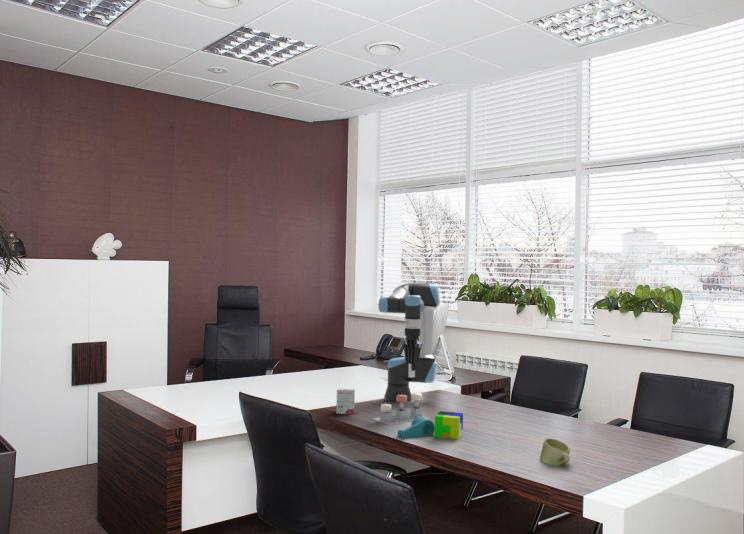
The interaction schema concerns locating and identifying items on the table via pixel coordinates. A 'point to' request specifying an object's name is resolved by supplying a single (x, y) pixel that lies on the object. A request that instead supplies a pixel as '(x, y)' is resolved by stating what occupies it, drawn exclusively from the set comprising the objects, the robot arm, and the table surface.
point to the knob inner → (416, 398)
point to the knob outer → (386, 408)
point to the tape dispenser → (418, 428)
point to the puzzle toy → (449, 425)
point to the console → (400, 416)
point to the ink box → (345, 401)
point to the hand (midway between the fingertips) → (411, 377)
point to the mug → (554, 452)
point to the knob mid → (401, 400)
